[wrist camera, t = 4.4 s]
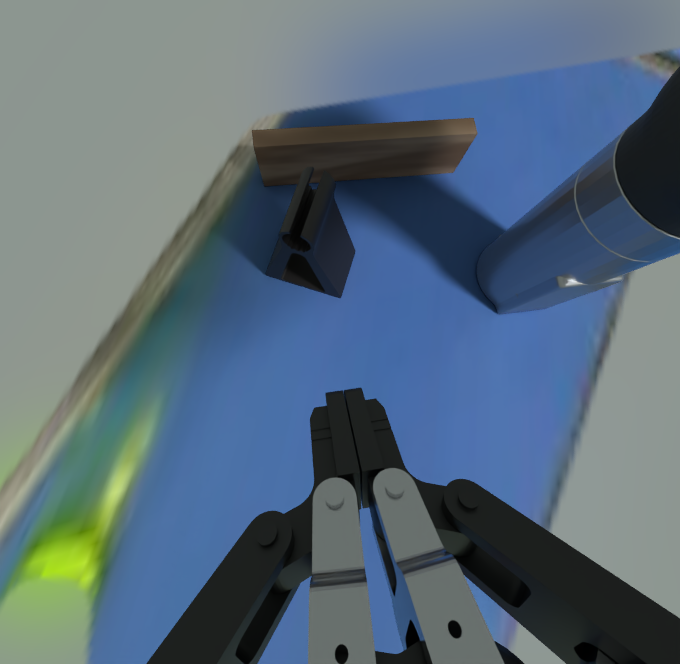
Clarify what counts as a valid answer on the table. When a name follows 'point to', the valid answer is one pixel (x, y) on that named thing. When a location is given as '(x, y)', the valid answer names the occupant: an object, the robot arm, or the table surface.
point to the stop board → (362, 150)
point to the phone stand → (313, 240)
